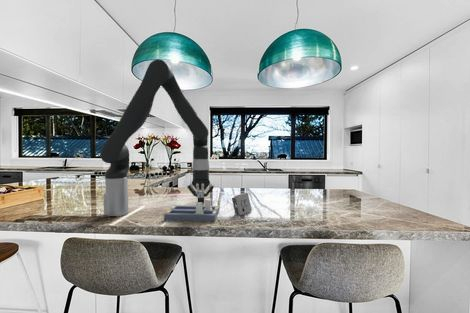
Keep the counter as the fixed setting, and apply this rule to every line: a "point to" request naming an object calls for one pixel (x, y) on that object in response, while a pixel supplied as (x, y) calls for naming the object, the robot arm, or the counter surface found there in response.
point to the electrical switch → (241, 204)
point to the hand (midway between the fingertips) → (201, 205)
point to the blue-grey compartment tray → (191, 213)
